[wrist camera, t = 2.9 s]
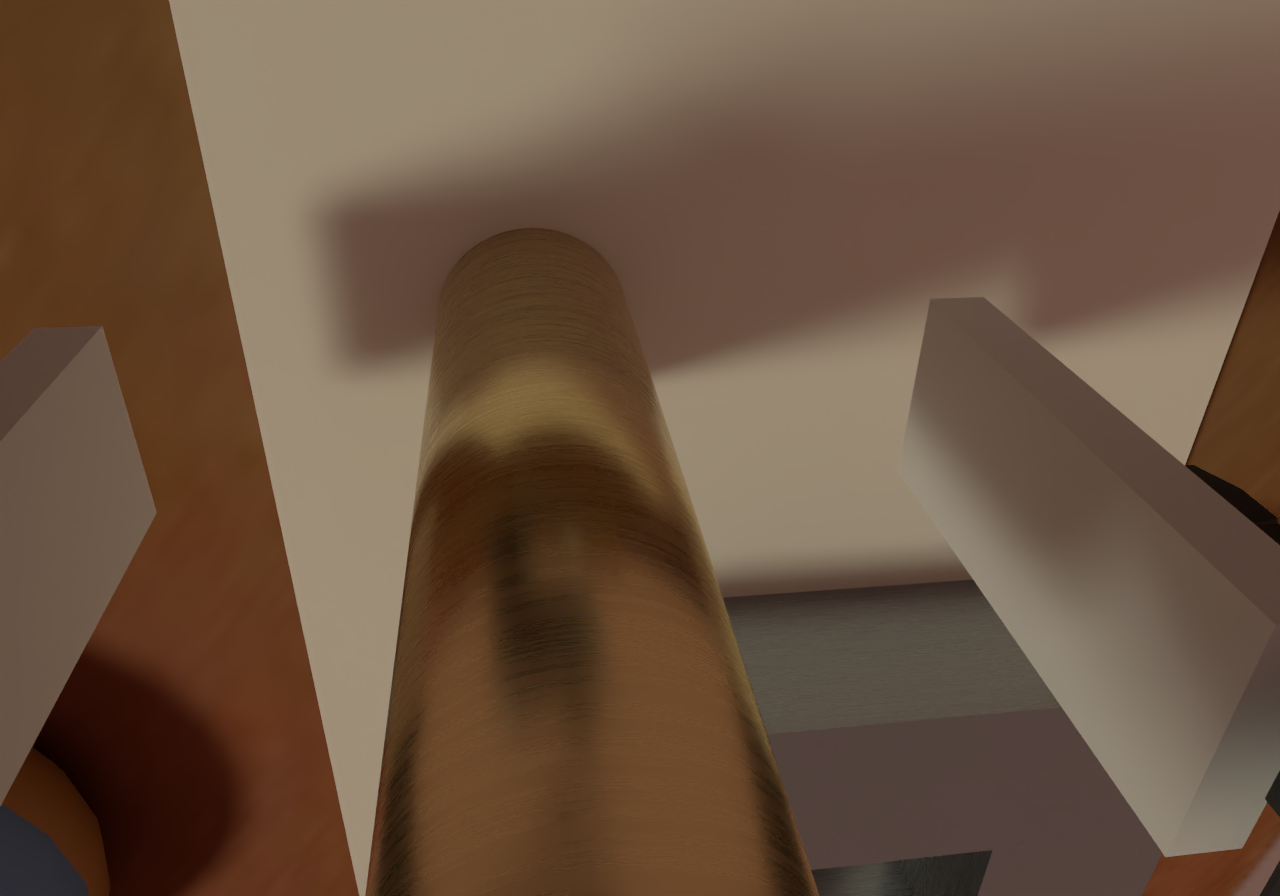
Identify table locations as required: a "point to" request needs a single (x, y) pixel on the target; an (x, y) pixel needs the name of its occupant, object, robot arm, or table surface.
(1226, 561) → the robot arm
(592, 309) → the pin
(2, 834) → the doughnut
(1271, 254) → the table surface
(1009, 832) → the square hole block
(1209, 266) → the mat
